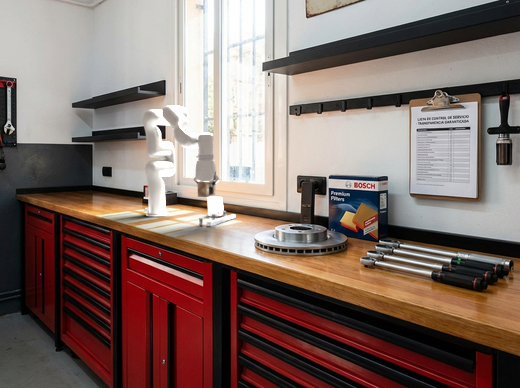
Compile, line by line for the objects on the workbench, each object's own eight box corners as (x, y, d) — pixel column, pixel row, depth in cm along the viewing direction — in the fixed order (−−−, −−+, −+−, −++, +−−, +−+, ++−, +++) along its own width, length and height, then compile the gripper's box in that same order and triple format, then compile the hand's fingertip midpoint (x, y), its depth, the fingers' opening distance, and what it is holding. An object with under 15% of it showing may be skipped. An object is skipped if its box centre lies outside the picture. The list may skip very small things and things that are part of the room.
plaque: (197, 196, 202) (197, 182, 201) (207, 194, 211) (207, 181, 211) (205, 197, 200) (205, 182, 200) (215, 195, 210) (215, 181, 209)
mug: (229, 216, 230) (228, 198, 229) (216, 218, 224) (216, 199, 223) (217, 214, 239) (217, 196, 238) (205, 215, 234) (204, 197, 233)
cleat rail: (207, 226, 199) (207, 222, 199) (232, 217, 225) (232, 214, 225) (210, 226, 198) (210, 222, 198) (235, 217, 224) (235, 214, 224)
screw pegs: (198, 225, 201) (198, 218, 201) (224, 217, 226) (224, 211, 226) (201, 225, 200) (201, 218, 200) (226, 217, 226) (226, 211, 225)
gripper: (187, 158, 204) (188, 194, 206) (217, 158, 197) (218, 195, 199) (195, 158, 211) (196, 193, 213) (224, 157, 204) (225, 194, 206)
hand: (206, 194), depth 206 cm, fingers closed on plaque, 4 cm apart
